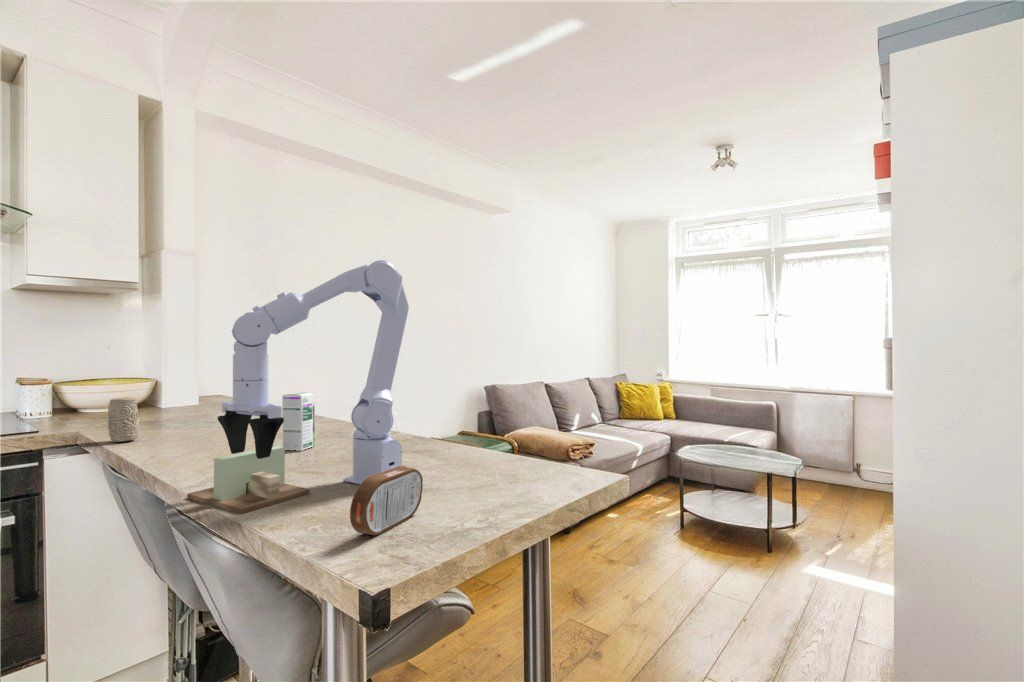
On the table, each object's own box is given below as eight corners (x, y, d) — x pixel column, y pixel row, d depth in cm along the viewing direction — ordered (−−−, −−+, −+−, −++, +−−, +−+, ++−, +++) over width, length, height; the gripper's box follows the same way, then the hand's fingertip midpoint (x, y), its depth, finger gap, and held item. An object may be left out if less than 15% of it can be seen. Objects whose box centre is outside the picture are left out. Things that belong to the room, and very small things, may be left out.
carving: (120, 439, 142) (121, 396, 142) (145, 439, 141) (146, 397, 141) (100, 443, 136) (101, 399, 136) (126, 444, 135) (127, 399, 135)
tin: (410, 509, 85) (410, 459, 85) (426, 512, 83) (426, 461, 83) (347, 541, 71) (348, 481, 71) (365, 545, 70) (366, 484, 70)
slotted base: (309, 493, 93) (309, 469, 93) (241, 513, 82) (242, 486, 82) (255, 481, 101) (255, 459, 101) (187, 498, 89) (187, 473, 89)
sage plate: (276, 482, 97) (276, 445, 97) (284, 484, 96) (284, 447, 96) (213, 498, 87) (214, 458, 87) (221, 501, 86) (222, 459, 86)
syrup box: (301, 451, 128) (302, 394, 128) (281, 450, 129) (281, 393, 129) (315, 447, 134) (315, 392, 134) (295, 446, 135) (295, 391, 135)
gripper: (205, 379, 91) (204, 454, 91) (254, 383, 84) (254, 464, 84) (242, 377, 97) (242, 447, 97) (291, 380, 90) (291, 456, 90)
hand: (250, 455), depth 91 cm, fingers open, 7 cm apart
